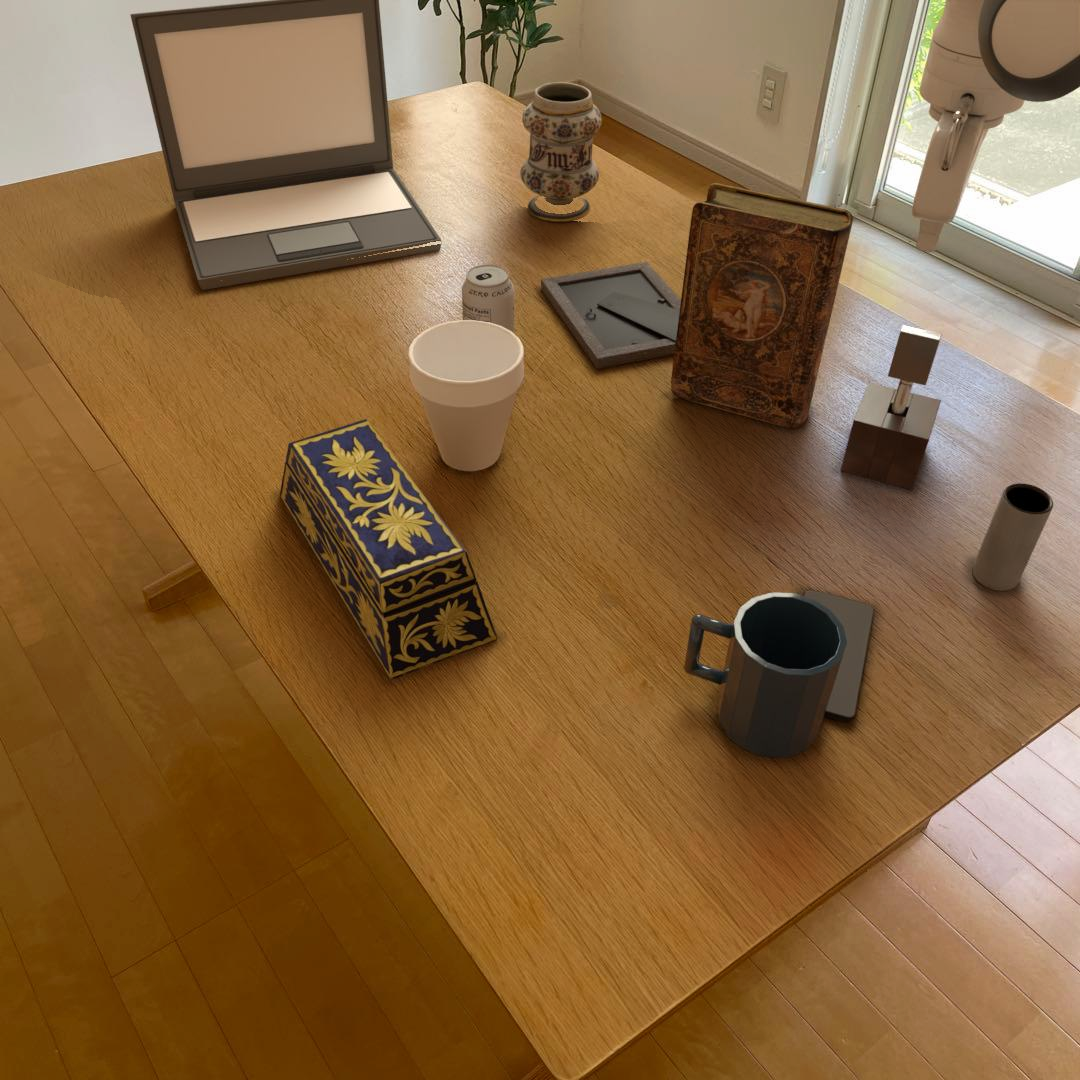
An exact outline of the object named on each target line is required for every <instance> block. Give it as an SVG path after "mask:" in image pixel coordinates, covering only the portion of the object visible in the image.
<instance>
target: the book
mask: <svg viewBox="0 0 1080 1080" xmlns="http://www.w3.org/2000/svg"><path fill="white" fill-rule="evenodd" d="M853 222H854V216H853V214H852V213H851V212H850V211H849V210H847V209H846V208H845V209H844V208H841V207H835V206H831V205H825V204H820V203H815V202H811V201H806V200H801V199H797V198H792V197H786V196H781V195H776V194H772V193H767V192H762V191H758V190H757V191H756V190H752V189H747V188H744V187H743V188H742V187H737V186H733V185H727V184H723V183H719V182H714V183H712V184H710V186H709V187H708V189H707V195H706V200H705V201H701V200H700V201H697V202H696V203H695V204H694V205H693V207H692V211H691V218H690V226H689V233H688V240H687V249H686V257H685V264H684V265H685V266H684V274H683V282H682V288H681V289H682V290H681V297H680V300H681V304H680V312H679V320H678V329H677V337H676V345H675V353H674V354H673V360H672V361H673V362H672V369H671V379H670V390H671V393H672V395H673V396H675V397H676V398H680V399H683V400H686V401H689V402H692V403H696V404H699V405H703V406H706V407H709V408H713V409H717V410H720V411H724V412H727V413H731V414H734V415H739V416H742V417H746V418H749V419H754V420H756V421H761V422H764V423H768V424H770V425H775V426H778V427H782V428H785V429H788V430H789V429H790V430H794V429H798V428H800V427H802V426H803V425H804V424H805V423H806V422H807V420H808V417H809V414H810V409H811V404H812V402H813V396H814V392H815V388H816V384H817V379H818V374H819V370H820V365H821V361H822V358H823V357H822V356H823V353H824V348H825V344H826V339H827V336H828V330H829V326H830V322H831V318H832V313H833V309H834V304H835V300H836V297H837V292H838V287H839V285H840V284H839V283H840V280H841V279H840V278H841V275H842V270H843V265H844V262H845V257H846V252H847V249H848V244H849V240H850V235H851V231H852V226H853Z"/></svg>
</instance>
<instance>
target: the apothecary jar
mask: <svg viewBox="0 0 1080 1080" xmlns="http://www.w3.org/2000/svg"><path fill="white" fill-rule="evenodd" d="M521 118H522V120H521V121H522V125H523V127H524V129H525V130H526V131H527V132H529V152H528V157H527V158H526V159H525V160H524V161H523V163H522V165H521V167H520V172H519V173H520V174H519V175H520V179H521V182H522V184H524V186H525V187H526V188H527V189H528V190H529V191H531V192H532V193H534V194H536V195H537V196H535V197H533V198H532V199H530V201H529V202H528V204H527V211H528V212H529V213H530V214H531V215H532V217H535V218H537V219H539V220H542V221H545V222H552V223H568V222H573V221H577V220H581V219H582V218H584V217H586V216H588V214H589V213H591V212H590V211H591V204H590V202H589V201H588V199H586V198H583V197H582V196H583V195H586V194H588V193H589V192H590V191H592V190H593V189H594V188H595V186H596V185H597V183H598V181H599V177H600V171H599V168H598V165H597V163H596V162H595V161H594V160H593V143H594V135H595V134H597V132H598V131H599V130H600V128H601V126H602V120H603V118H602V114H601V111H600V109H599V108H598V106H596V105H595V104H594V102H593V96H592V92H591V90H590V89H588V88H587V87H585V86H583V85H581V84H577V83H574V82H567V81H556V82H555V81H554V82H548V83H544V84H541V85H539V86H537V87H536V88H535V89H534V92H533V99H532V101H530V103H529V104H528V105H527V106H526V107H525V108H524V110H523V112H522V116H521ZM539 196H544V197H546V198H545V199H546V201H547V202H549V203H551V204H553V205H566V204H570V203H571V202H572V201H573V198H576V197H580V198H581V199H582V200H583V202H584V206H583V207H582V208H581V209H580V210H578V211H575V212H572V213H567V214H555V213H548V212H545V211H543V210H541V209H539V208H538V207H537V206H536V204H535V201H536V200H537V198H538V197H539Z"/></svg>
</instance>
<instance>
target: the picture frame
mask: <svg viewBox="0 0 1080 1080" xmlns="http://www.w3.org/2000/svg"><path fill="white" fill-rule="evenodd" d="M540 283H541V285H540V289H541V291H542V293H543V294H544V296H545V297H546V299H547V300H548V301H549V303H550V304H551V305H552V307H553V308H554V310H555V311H556V312H557V315H558V316H559V317H560V319H561V320H562V322H563V323H564V324H565V326H566V327H567V329H568V330H569V331H570V333H571V334H572V336H573V337H574V338H575V340H576V342H577V343H578V344H579V346H580V347H581V348H582V350H583V352H584V353H585V355H587V357H588V358H589V360H590V361H591V363H592V364H593V366H594V367H595V369H596V370H600V369H604V368H610V367H615V366H621V365H625V364H631V363H636V362H641V361H646V360H647V361H648V360H652V359H658V358H662V357H667V356H672V355H673V356H674V353H675V345H676V337H677V329H678V320H679V312H680V304H681V298H680V297H679V296H678V295H677V294H676V293H675V292H674V290H672V288H671V287H670V286H669V285H668V284H667V283H666V282H665V280H664V279H663V278H662V277H661V276H660V275H659V273H658V272H657V271H656V270H655V269H654V268H653V267H652V265H651V264H650V263H649V262H648V261H642V262H637V263H631V264H624V265H619V266H612V267H606V268H600V269H595V270H589V271H583V272H582V271H581V272H575V273H571V274H570V273H569V274H564V275H558V276H552V277H545V278H541V280H540Z"/></svg>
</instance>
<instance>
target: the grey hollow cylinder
mask: <svg viewBox="0 0 1080 1080" xmlns="http://www.w3.org/2000/svg"><path fill="white" fill-rule="evenodd" d="M1053 508H1054V501H1053V498H1052V497H1051V495H1049V493H1048V492H1046V490H1044V489H1042V488H1041V487H1038V486H1036V485H1033V484H1030V483H1020V482H1019V483H1012V484H1009V485H1008V486H1006V487H1005V488H1004V489H1003V491H1002V493H1001V496H1000V498H999V501H998V503H997V506H996V508H995V511H994V513H993V515H992V517H991V520H990V523H989V525H988V528H987V531H986V533H985V535H984V538H983V540H982V542H981V545H980V547H979V550H978V552H977V554H976V557H975V560H974V563H973V566H972V569H971V570H972V571H971V573H972V575H973V577H974V578H975V580H976V581H977V582H978V583H979V584H981V585H982V586H984V587H986V588H988V589H990V590H995V591H1000V592H1002V591H1003V592H1006V591H1010V590H1012V589H1014V588H1016V587H1017V586H1018V584H1019V582H1020V581H1021V578H1022V576H1023V574H1024V572H1025V570H1026V568H1027V565H1028V563H1029V561H1030V558H1031V557H1032V554H1033V552H1034V550H1035V548H1036V545H1037V543H1038V542H1039V539H1040V538H1041V534H1042V533H1043V530H1044V528H1045V526H1046V524H1047V521H1048V519H1049V518H1050V515H1051V512H1052V510H1053Z"/></svg>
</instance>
